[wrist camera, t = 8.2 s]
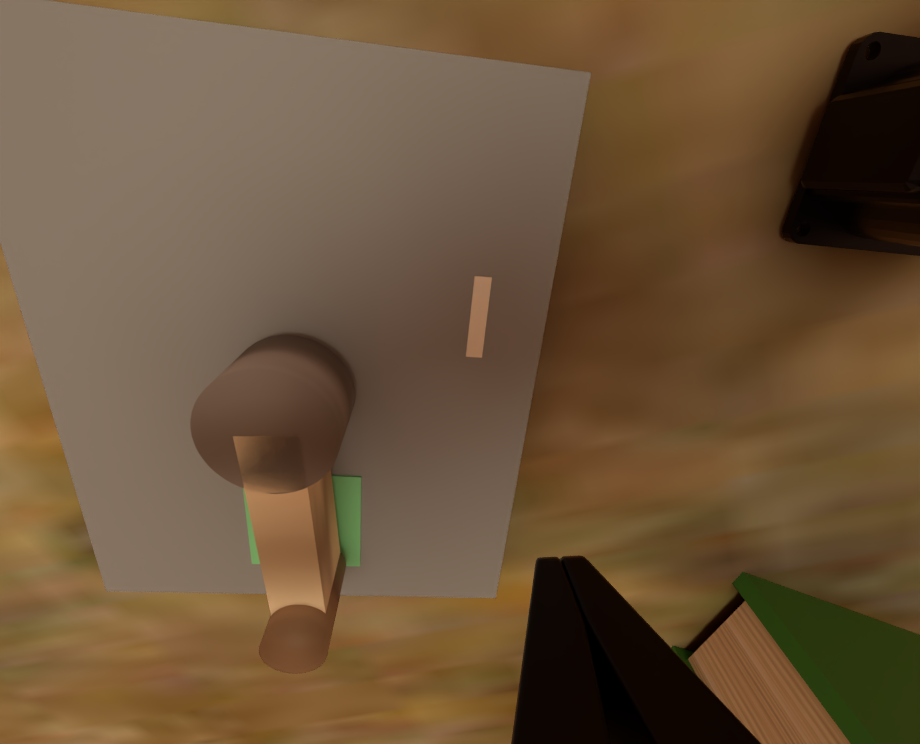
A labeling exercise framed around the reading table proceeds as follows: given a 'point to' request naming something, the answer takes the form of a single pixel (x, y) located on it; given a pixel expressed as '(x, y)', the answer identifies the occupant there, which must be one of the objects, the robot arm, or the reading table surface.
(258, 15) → the reading table surface
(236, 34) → the dial plate
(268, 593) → the lever
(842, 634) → the hardback book
